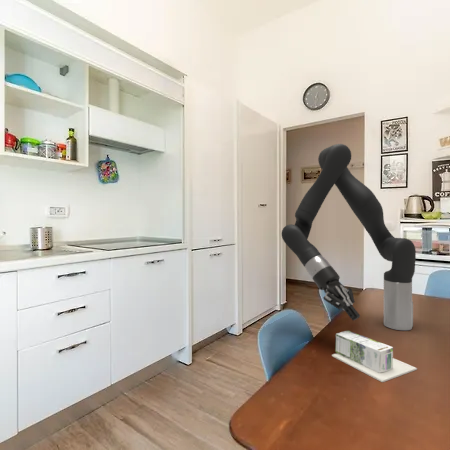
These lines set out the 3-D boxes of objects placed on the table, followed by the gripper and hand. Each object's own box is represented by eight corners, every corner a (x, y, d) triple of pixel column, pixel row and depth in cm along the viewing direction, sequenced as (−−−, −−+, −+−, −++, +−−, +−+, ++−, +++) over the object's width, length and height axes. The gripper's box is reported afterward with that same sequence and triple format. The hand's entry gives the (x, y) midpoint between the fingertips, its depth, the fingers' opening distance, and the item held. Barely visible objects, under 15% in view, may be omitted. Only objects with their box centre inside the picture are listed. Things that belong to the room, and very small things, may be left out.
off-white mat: (364, 347, 93) (364, 345, 93) (416, 369, 79) (416, 368, 79) (331, 356, 87) (331, 354, 87) (382, 382, 72) (382, 380, 72)
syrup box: (347, 348, 91) (394, 368, 78) (334, 352, 88) (381, 374, 75) (347, 329, 91) (394, 346, 78) (334, 333, 88) (381, 351, 75)
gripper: (315, 267, 92) (353, 316, 82) (340, 263, 100) (376, 308, 90) (302, 281, 96) (335, 329, 87) (326, 276, 104) (360, 320, 94)
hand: (356, 318), depth 88 cm, fingers closed
